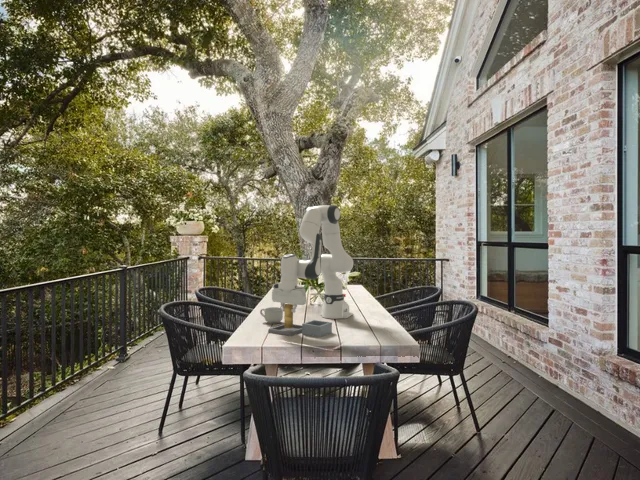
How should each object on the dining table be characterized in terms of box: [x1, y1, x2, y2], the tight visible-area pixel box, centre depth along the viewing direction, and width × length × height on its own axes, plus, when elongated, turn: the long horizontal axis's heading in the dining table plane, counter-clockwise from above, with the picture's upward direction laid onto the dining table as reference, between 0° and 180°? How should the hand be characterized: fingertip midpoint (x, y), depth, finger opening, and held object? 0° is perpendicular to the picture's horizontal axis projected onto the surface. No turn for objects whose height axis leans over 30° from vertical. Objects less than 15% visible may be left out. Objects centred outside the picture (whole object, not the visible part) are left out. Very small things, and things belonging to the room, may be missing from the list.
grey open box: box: [301, 319, 333, 338], centre depth 206 cm, size 11×11×6 cm
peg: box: [283, 303, 294, 328], centre depth 211 cm, size 4×4×12 cm
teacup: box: [259, 306, 284, 325], centre depth 235 cm, size 14×11×8 cm
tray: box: [268, 323, 302, 337], centre depth 211 cm, size 16×14×2 cm
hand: (288, 311), depth 211 cm, fingers closed on peg, 4 cm apart
